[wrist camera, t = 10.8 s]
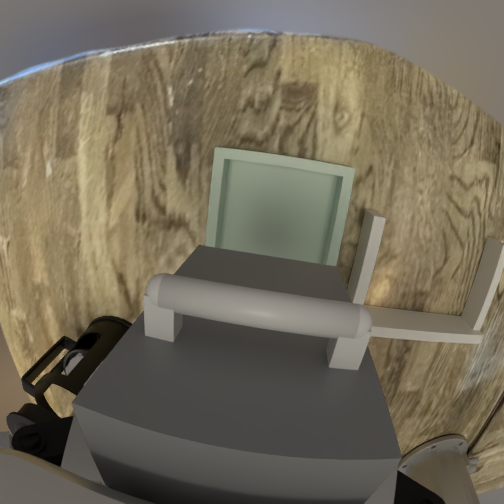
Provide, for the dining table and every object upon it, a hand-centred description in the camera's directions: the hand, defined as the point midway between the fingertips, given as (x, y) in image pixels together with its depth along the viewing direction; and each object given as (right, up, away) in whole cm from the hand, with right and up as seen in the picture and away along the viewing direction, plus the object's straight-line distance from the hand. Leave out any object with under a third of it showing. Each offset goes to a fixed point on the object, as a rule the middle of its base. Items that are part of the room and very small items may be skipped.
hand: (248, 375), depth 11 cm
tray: (+2, +6, +17) cm, 18 cm away
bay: (+17, +3, +16) cm, 24 cm away
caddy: (0, +1, +2) cm, 2 cm away
